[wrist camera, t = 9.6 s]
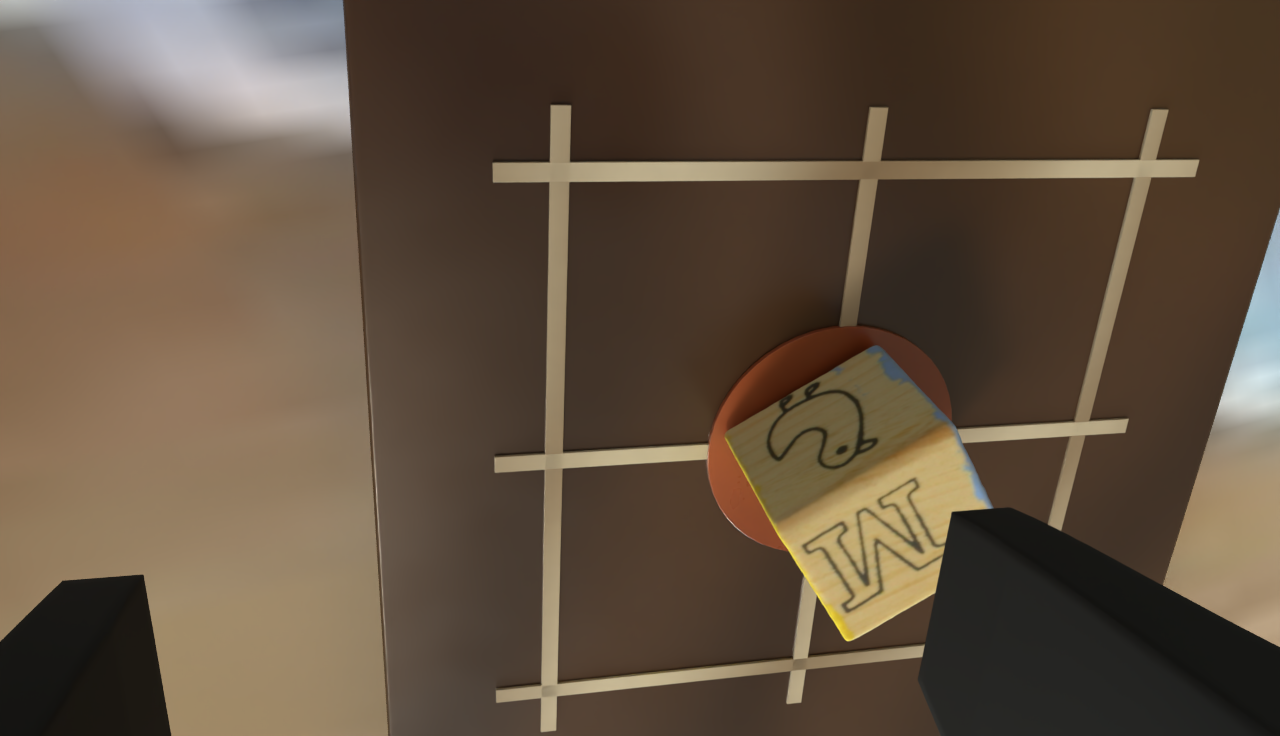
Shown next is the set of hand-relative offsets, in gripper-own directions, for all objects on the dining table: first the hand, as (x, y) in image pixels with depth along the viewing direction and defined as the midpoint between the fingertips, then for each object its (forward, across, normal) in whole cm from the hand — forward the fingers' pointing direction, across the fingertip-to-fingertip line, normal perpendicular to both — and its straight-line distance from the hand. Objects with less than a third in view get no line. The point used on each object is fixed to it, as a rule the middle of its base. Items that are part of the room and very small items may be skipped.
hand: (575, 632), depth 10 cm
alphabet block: (+8, -6, +3) cm, 11 cm away
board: (+9, -6, +3) cm, 12 cm away
